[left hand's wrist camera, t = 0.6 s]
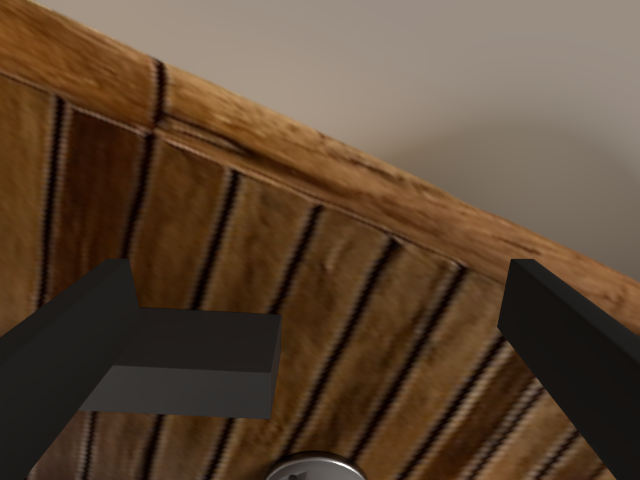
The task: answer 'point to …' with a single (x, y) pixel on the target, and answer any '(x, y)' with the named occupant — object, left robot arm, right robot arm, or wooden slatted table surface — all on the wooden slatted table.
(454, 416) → the wooden slatted table surface
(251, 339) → the bar
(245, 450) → the wooden slatted table surface
